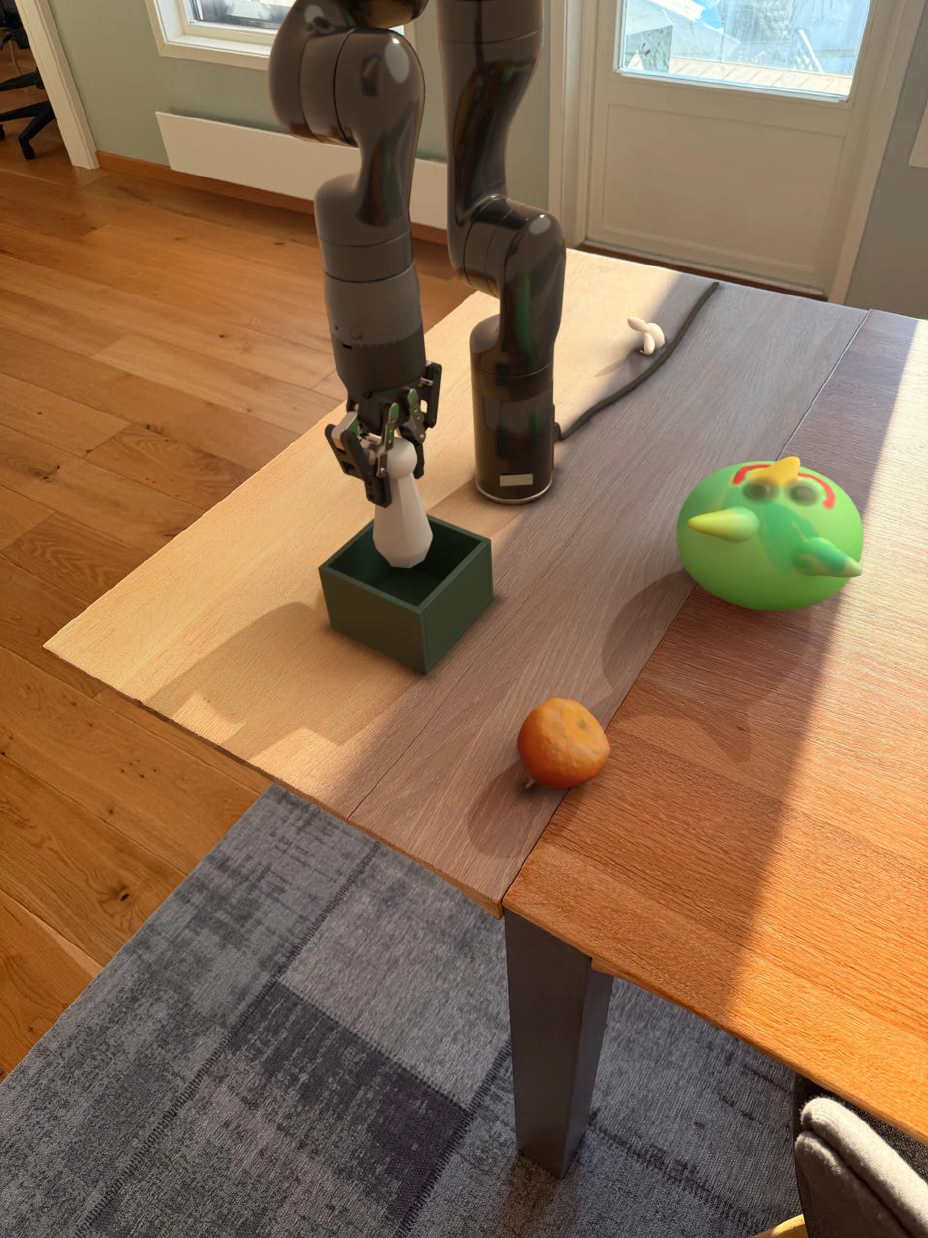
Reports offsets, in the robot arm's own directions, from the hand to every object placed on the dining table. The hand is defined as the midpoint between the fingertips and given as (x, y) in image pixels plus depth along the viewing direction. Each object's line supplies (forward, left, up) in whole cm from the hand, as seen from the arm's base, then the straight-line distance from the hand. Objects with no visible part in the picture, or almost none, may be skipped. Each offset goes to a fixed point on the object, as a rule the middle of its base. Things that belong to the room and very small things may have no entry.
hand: (397, 488), depth 84 cm
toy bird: (-22, +29, -17) cm, 40 cm away
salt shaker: (0, 0, -8) cm, 8 cm away
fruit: (+9, +23, -17) cm, 30 cm away
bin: (0, 0, -17) cm, 17 cm away
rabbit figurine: (-61, -3, -17) cm, 63 cm away
